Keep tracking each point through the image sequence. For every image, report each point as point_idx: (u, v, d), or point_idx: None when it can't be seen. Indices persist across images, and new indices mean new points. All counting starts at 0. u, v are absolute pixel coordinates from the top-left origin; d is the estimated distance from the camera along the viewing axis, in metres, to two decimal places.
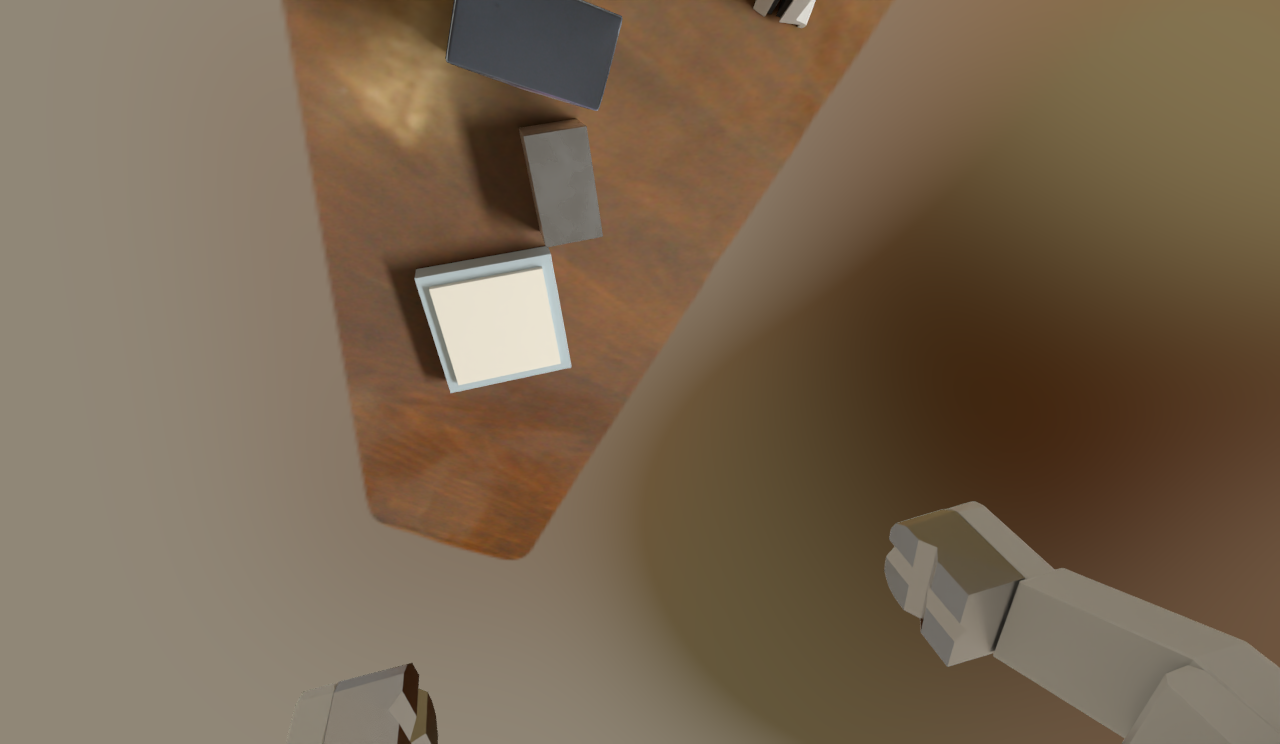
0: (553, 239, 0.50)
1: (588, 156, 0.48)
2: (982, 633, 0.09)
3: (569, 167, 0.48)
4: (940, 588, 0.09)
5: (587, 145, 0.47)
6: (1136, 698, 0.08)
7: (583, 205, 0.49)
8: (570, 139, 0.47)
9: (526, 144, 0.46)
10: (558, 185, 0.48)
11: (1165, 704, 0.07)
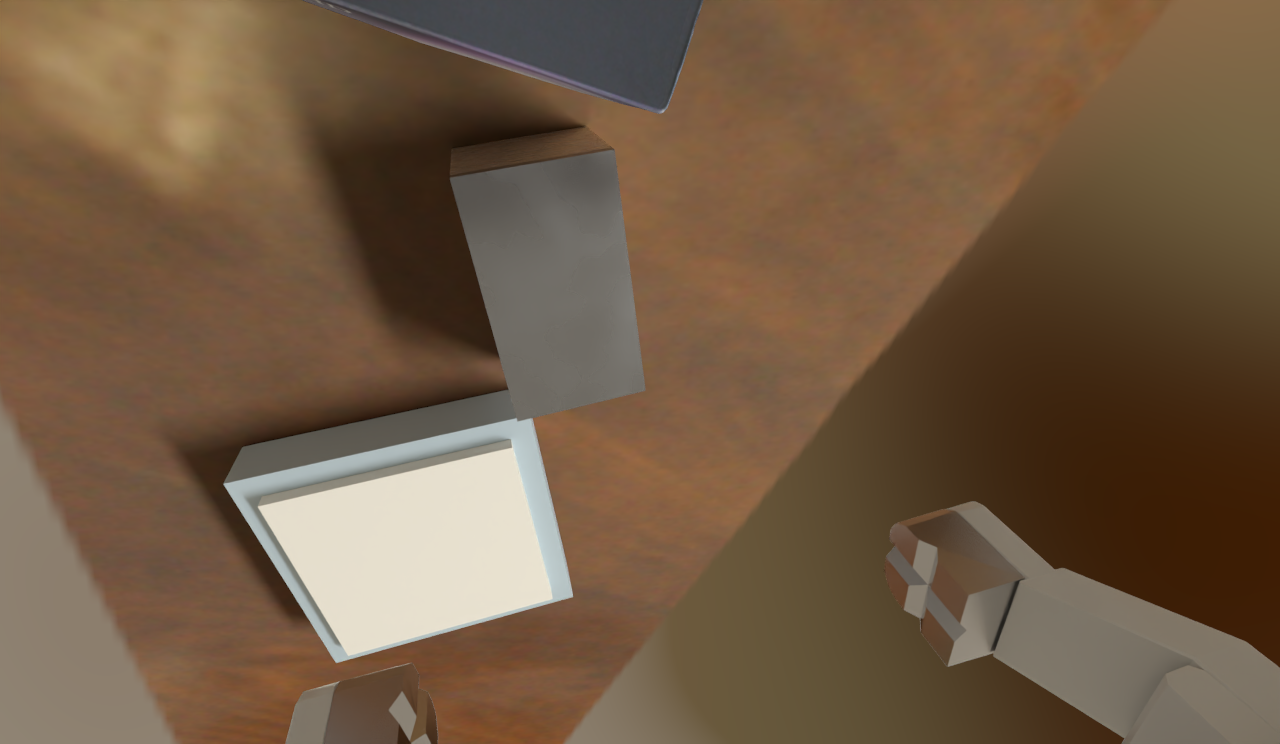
0: (533, 405, 0.22)
1: (617, 222, 0.19)
2: (982, 633, 0.09)
3: (571, 249, 0.19)
4: (940, 588, 0.09)
5: (616, 196, 0.19)
6: (1135, 698, 0.08)
7: (603, 331, 0.21)
8: (573, 183, 0.18)
9: (458, 198, 0.18)
10: (544, 291, 0.20)
11: (1165, 704, 0.07)
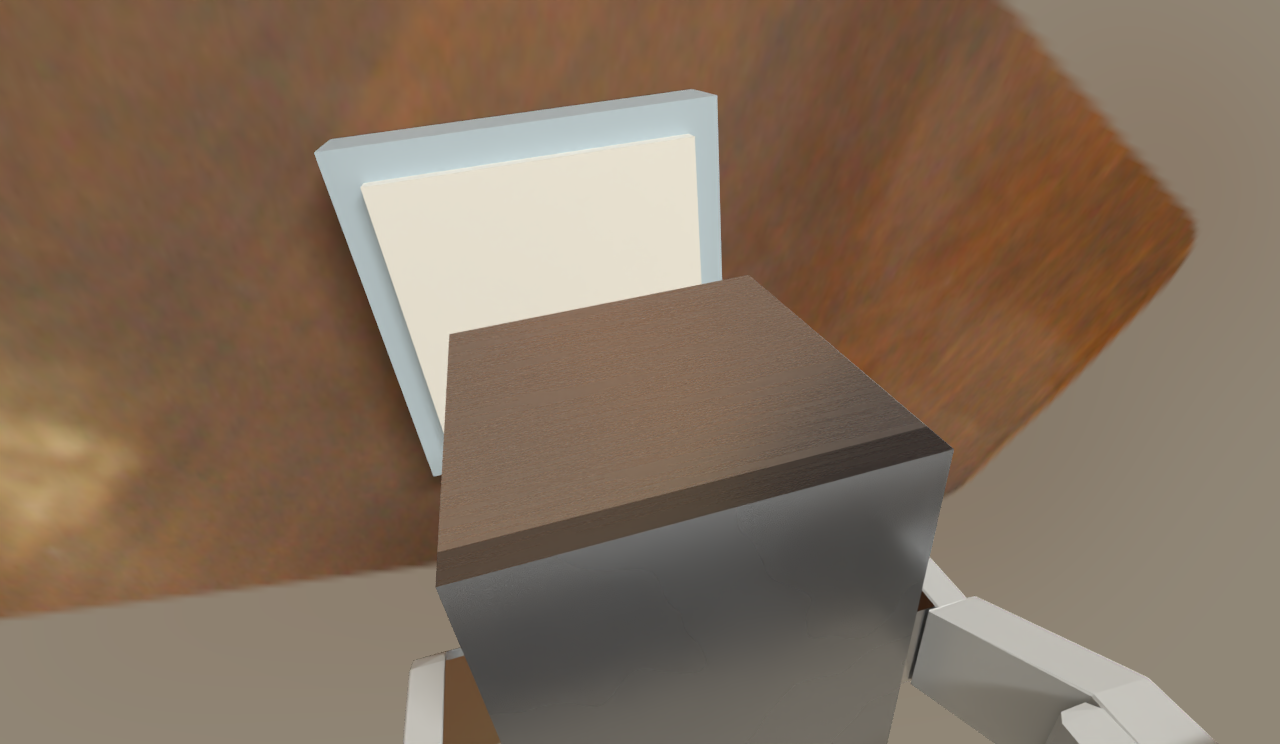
0: None
1: (905, 604, 0.07)
2: None
3: (773, 675, 0.07)
4: None
5: (920, 553, 0.07)
6: (1042, 733, 0.08)
7: None
8: (818, 542, 0.06)
9: (466, 629, 0.05)
10: None
11: (1060, 743, 0.07)
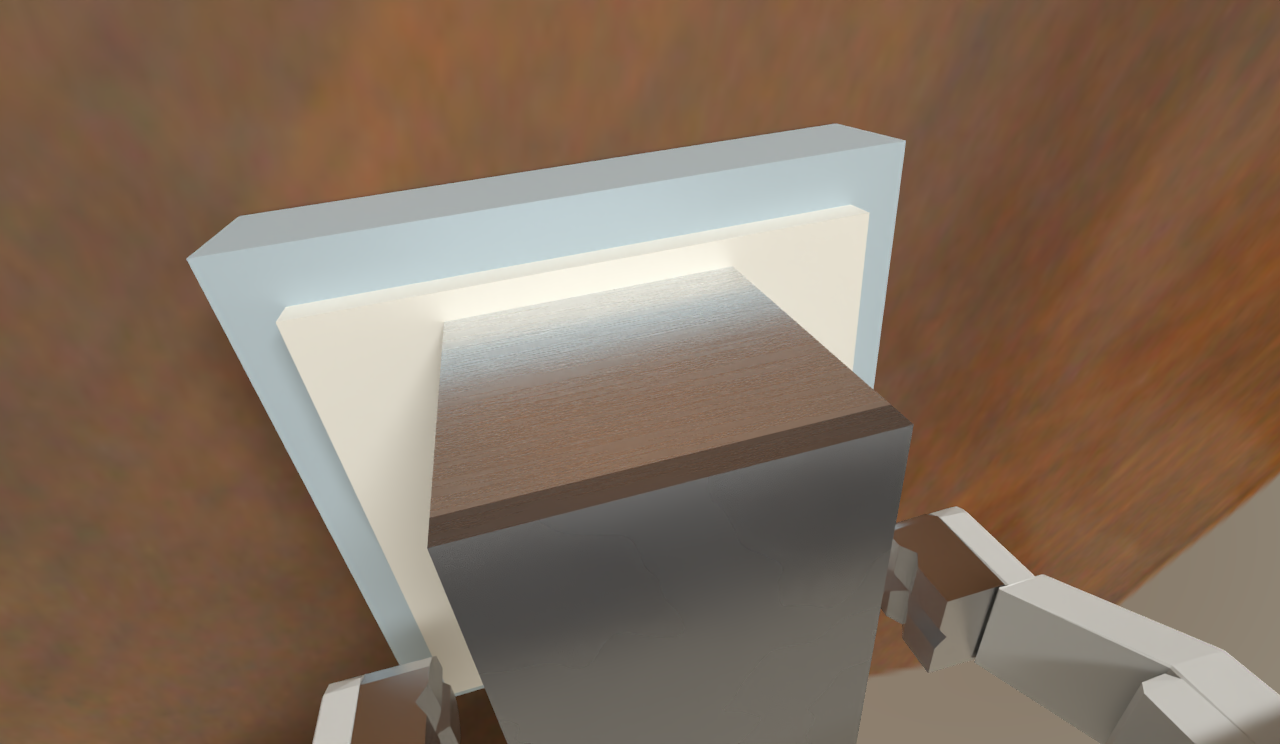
0: None
1: (873, 574, 0.07)
2: (962, 639, 0.09)
3: (748, 641, 0.07)
4: (920, 594, 0.09)
5: (885, 525, 0.07)
6: (1114, 706, 0.08)
7: None
8: (786, 512, 0.06)
9: (456, 589, 0.06)
10: (668, 723, 0.08)
11: (1141, 713, 0.07)
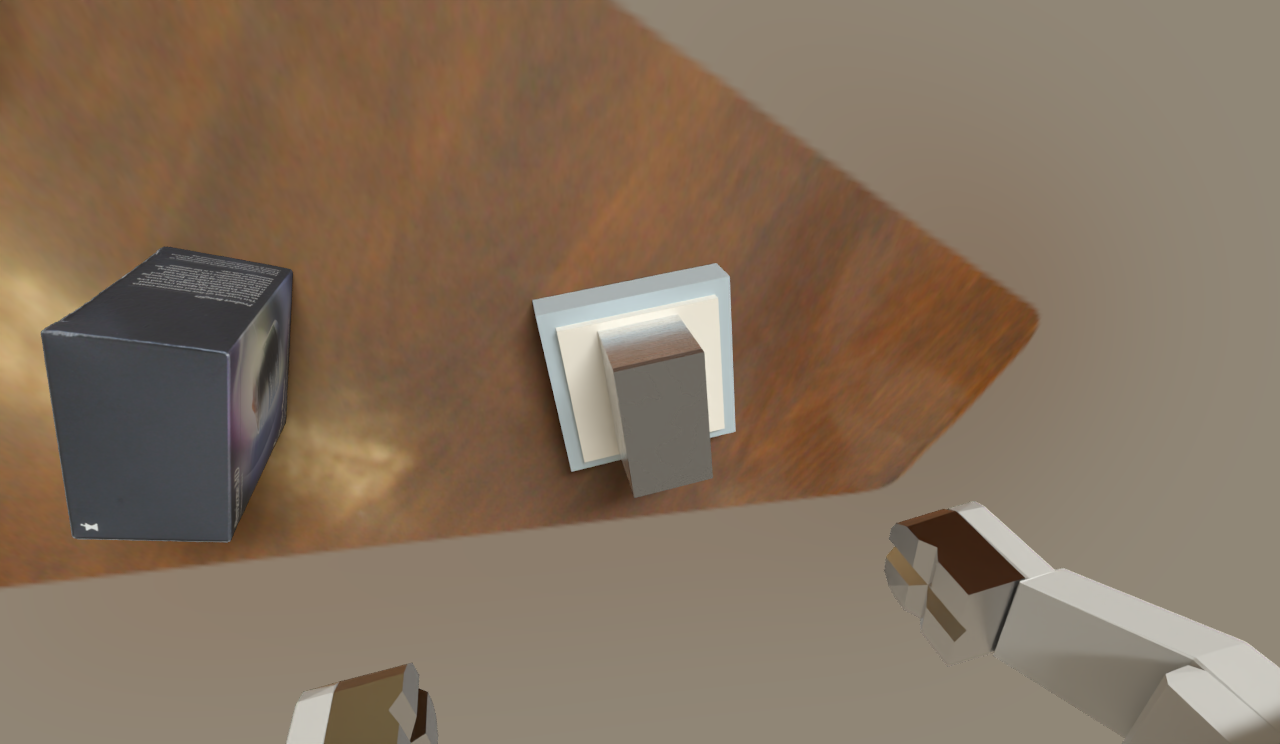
0: (644, 488, 0.35)
1: (703, 387, 0.33)
2: (982, 633, 0.09)
3: (675, 403, 0.33)
4: (940, 588, 0.09)
5: (703, 375, 0.32)
6: (1135, 698, 0.08)
7: (690, 445, 0.35)
8: (680, 370, 0.32)
9: (617, 381, 0.31)
10: (658, 425, 0.33)
11: (1165, 704, 0.07)
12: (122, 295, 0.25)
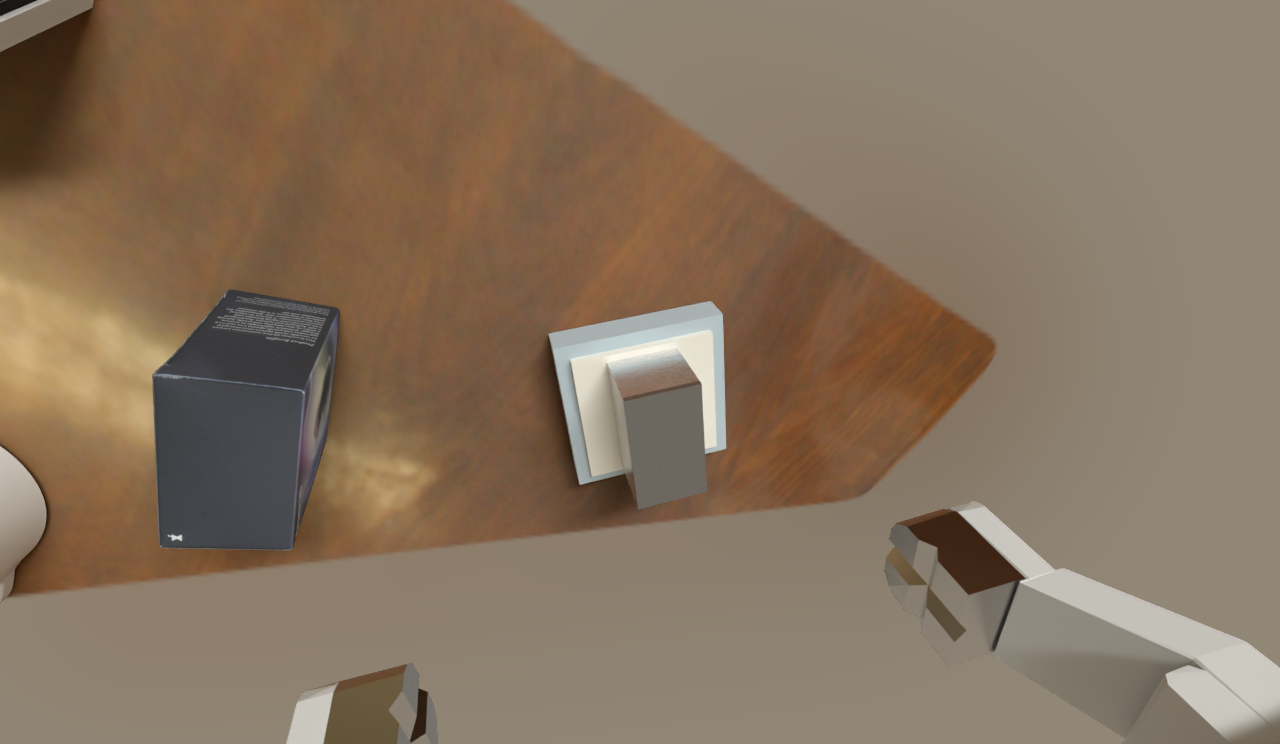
0: (647, 501, 0.40)
1: (700, 414, 0.38)
2: (982, 633, 0.09)
3: (675, 427, 0.38)
4: (940, 588, 0.09)
5: (700, 403, 0.37)
6: (1135, 698, 0.08)
7: (687, 463, 0.39)
8: (680, 399, 0.37)
9: (626, 409, 0.36)
10: (660, 446, 0.38)
11: (1165, 704, 0.07)
12: (207, 339, 0.29)
